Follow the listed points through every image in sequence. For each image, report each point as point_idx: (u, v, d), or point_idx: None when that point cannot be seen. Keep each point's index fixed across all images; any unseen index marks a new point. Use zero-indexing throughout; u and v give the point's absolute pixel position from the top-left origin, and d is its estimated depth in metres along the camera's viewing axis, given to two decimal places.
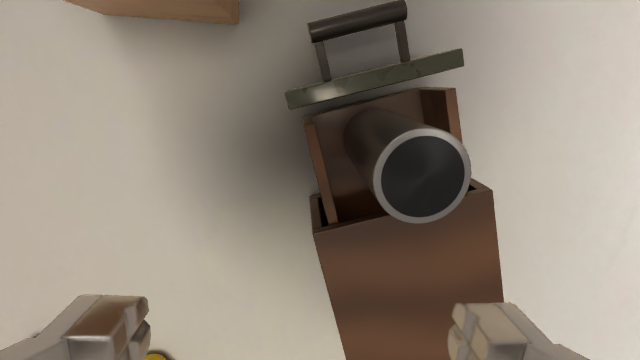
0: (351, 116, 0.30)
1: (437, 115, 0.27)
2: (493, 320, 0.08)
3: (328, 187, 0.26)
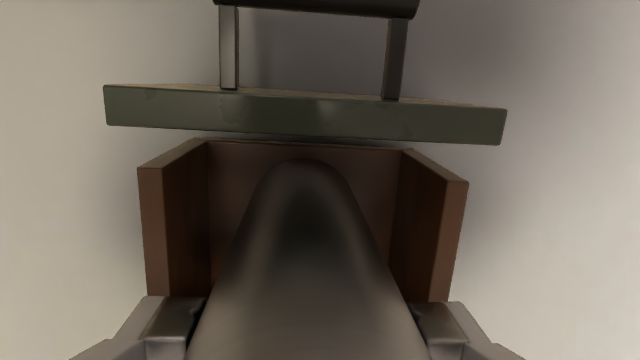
0: (276, 162, 0.17)
1: (419, 213, 0.14)
2: (436, 319, 0.08)
3: None
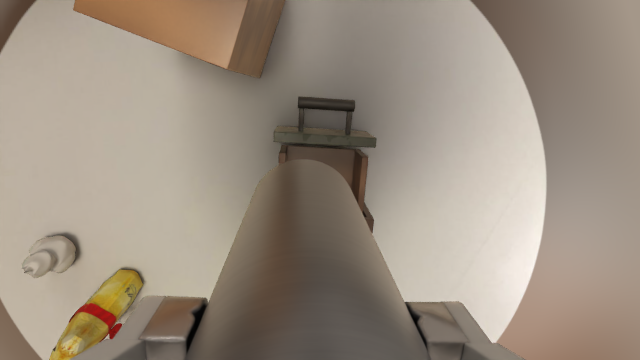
0: (310, 153, 0.48)
1: (357, 169, 0.45)
2: (436, 319, 0.08)
3: None
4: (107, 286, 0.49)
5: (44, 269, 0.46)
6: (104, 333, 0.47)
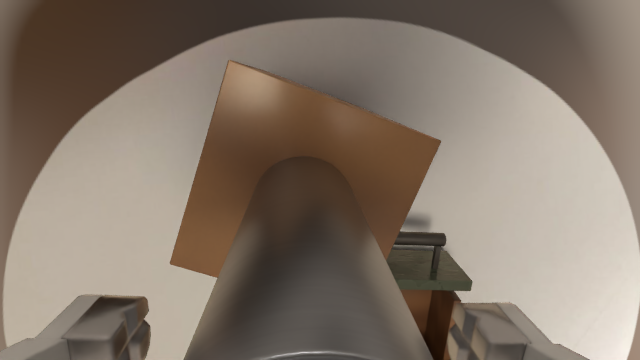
0: None
1: (443, 304, 0.40)
2: (493, 320, 0.08)
3: None
4: None
5: None
6: None
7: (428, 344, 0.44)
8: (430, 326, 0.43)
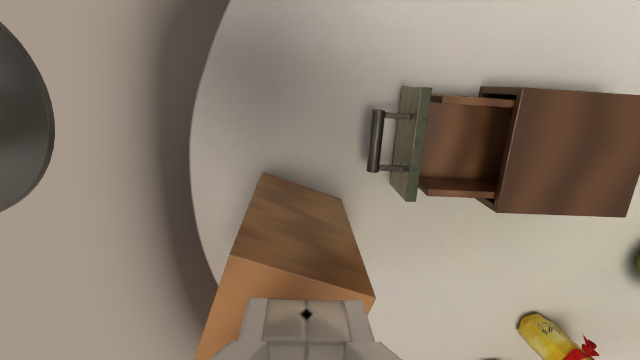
0: (423, 151, 0.43)
1: None
2: (327, 317, 0.08)
3: (470, 192, 0.39)
4: (537, 348, 0.50)
5: None
6: None
7: None
8: None
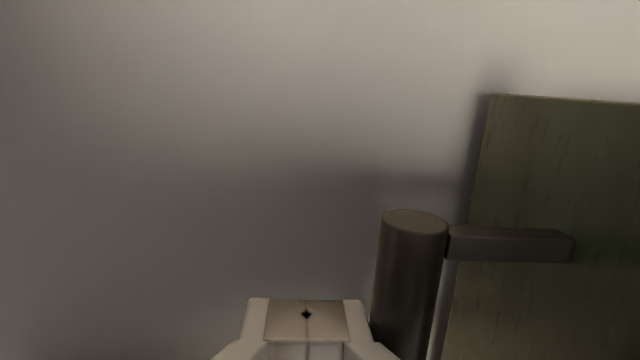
0: None
1: None
2: (326, 317, 0.08)
3: None
4: None
5: None
6: None
7: None
8: None
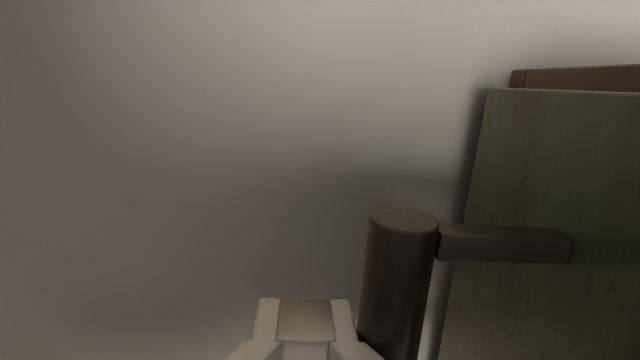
0: None
1: None
2: (313, 317, 0.08)
3: None
4: None
5: None
6: None
7: None
8: None
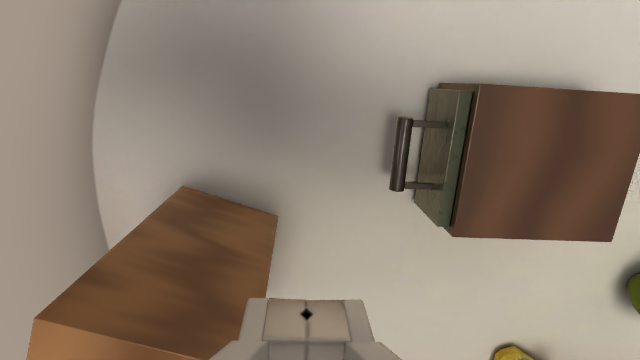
0: None
1: None
2: (327, 318, 0.08)
3: None
4: None
5: None
6: None
7: None
8: None
